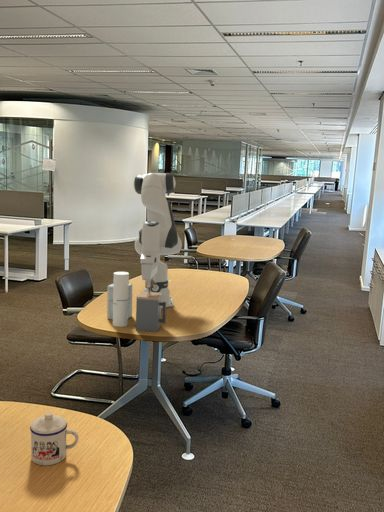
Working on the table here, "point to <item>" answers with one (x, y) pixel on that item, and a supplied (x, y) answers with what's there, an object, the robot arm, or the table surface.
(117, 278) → the cylindrical container
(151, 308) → the press jug
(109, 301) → the supplement box
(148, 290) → the plunger
